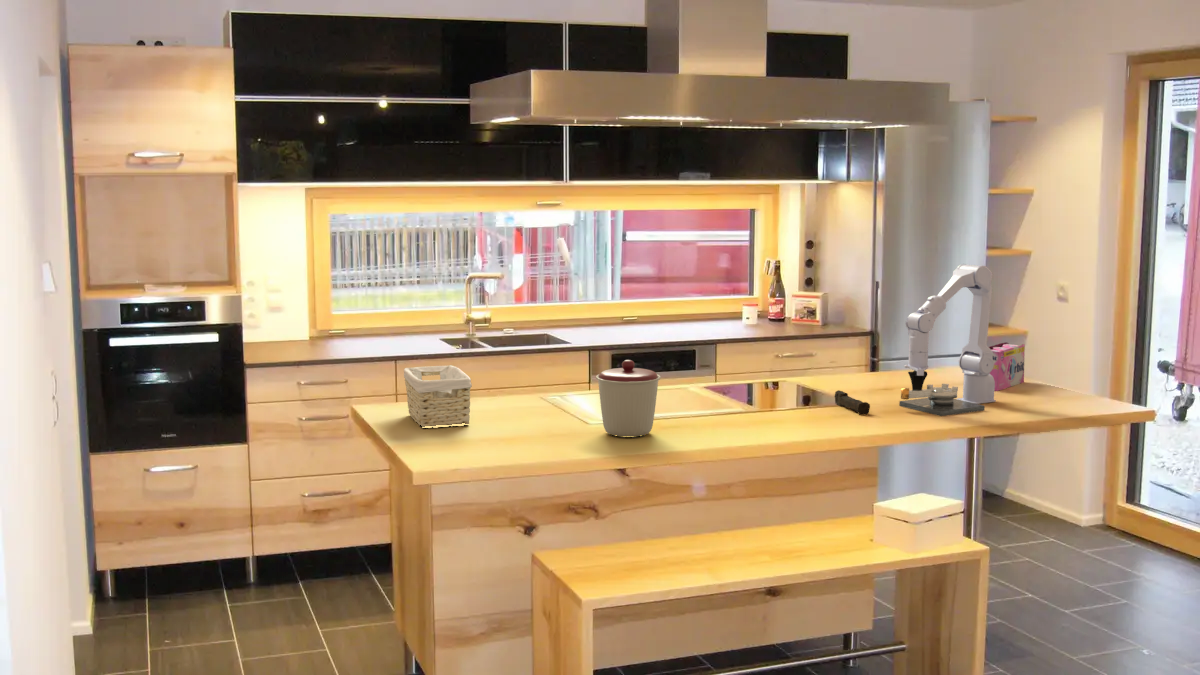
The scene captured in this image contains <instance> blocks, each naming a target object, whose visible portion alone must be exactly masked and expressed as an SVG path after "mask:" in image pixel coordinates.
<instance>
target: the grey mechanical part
mask: <svg viewBox="0 0 1200 675" xmlns="http://www.w3.org/2000/svg"><path fill="white" fill-rule="evenodd" d="M949 385H950V384H949V383H941V386H940V387H939V386H935V387H934V384H929V383H928V384H926V388H925V389H924V388H922V390H912V389H910V388H909V387H901V389H900V400H910V399H922V398H928V400H932V398H938V399H953V398H954V399H958V391H959V390H958V389H959V386H952V387H949Z"/></svg>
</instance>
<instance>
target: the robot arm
mask: <svg viewBox="0 0 1200 675" xmlns="http://www.w3.org/2000/svg"><path fill="white" fill-rule="evenodd" d="M992 277H993V272H992V271H991V270H990V268H988V267H987V266H986V265H975V264H974V265H973V264H966V263H961V264H959V265H958V266H957V267H956V269H954V270H953V271H952V277H951V278H950V279H949V281H947V282H946V284H945V285H944V286H943V288H941V290H940V291H939V293H938V294H937V295H931V296H929V297H928V298H927V300H926V301H925V302H924V303H923V304H922V305H921V307H919V308H918V309H917V311H915V312H912V313H910V314H908V316H907V318H906V321H905V327H906V329H907V331H908V332H907V333H908V336H909V338H908V339H909V340H908V345H909V346H908V364H904V366H903V367H904V368H905V369H910V370H912V371H907V374H908V376H909V378H910V382H911V387H912V388H911V390H922V389H923V386H924V382H925V380H926V379H927V377H928V372H927V371H926V370H928V369H929V365H928V360H929V340H930V338H929V336H930V334H929V333H930V331H931V330H932V329H933V328H934V323H935V321H936V319H938V317H939V316H940V315H941V314H942V313H943V312H944V310H946V307H947V304H946V303H947V302H948V301H949V300H950V299H952V297H954V296H955V295H956V294H957V293H958V292H960V290H962V288H967V289H968V290H969V291H970V292H971V293H972V295H973V296H972V303H971V304H972V307H971V316H970V325H969V336H968V343H966V345H964V346H963V347H962V350H961V354H960V356H959V360H958V366H959V368H960V370H961V371H962V373H963V387H962V397H960V398H959V397H957V398H956V399H957V400H962V401H966V402H970V403H975V404H979V405H981V404H987V403H988V404H989V403H994V402H995V403H996V401H997V400H996V399H995V391H994V387H995V381H994V378H993V376H992V375H991V374H989V373H990V372H991V371H992V369H993V366H994V362H993V358H992V354H993V352H992V350H991V349H990V348H989V347H990V346H988V344H987V342H988V334H989V333H988V332H989V324H990V314H991V304H992V295H993V293H992V292H993V286H992V279H993V278H992ZM978 353H979V354H978Z"/></svg>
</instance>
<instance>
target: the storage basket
mask: <svg viewBox="0 0 1200 675" xmlns="http://www.w3.org/2000/svg"><path fill="white" fill-rule="evenodd" d="M438 375H439V376H440V379H431V380H428V379H424V380H423V377H424V376H426V377H427V376H438ZM403 378H404V383H405V387H406V398H407V408H408V414H409V415H410V417H411V418H412V420H414V422H415V423H416V422H417V423H418V424H419V425H418V424H417V423H416V424H417V425H418V426H420V425H421V426H422V427H425V426H436V425H452V424H462V423H465V424H469V425H470V412H471V409H470V408H471V388H472V382H471V381H472V379H471V377H470V376H469V375H468V374H467V373H465V372H464V371H463V370H462V369H461V368H459V367H458V366H455V365H452V364H450V365H435V366H434V365H433V366H431V365H430V366H416V367H405V368H403Z"/></svg>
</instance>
